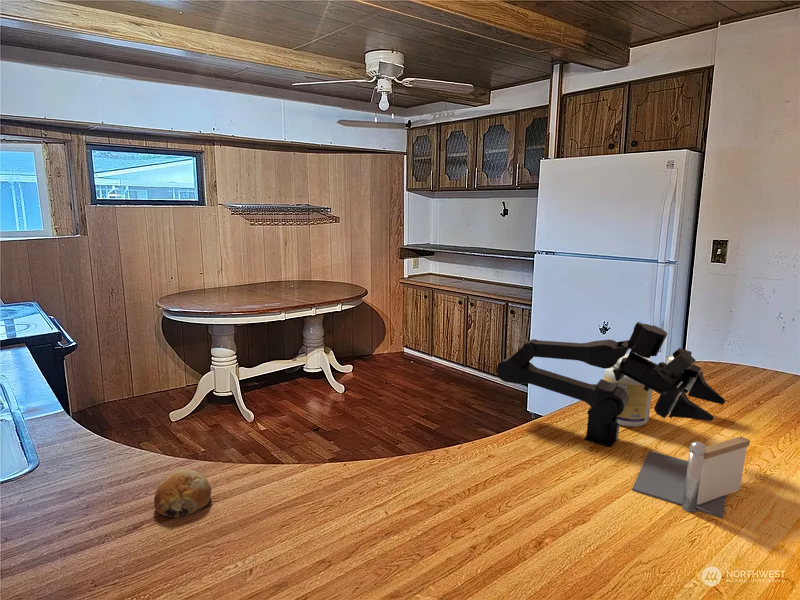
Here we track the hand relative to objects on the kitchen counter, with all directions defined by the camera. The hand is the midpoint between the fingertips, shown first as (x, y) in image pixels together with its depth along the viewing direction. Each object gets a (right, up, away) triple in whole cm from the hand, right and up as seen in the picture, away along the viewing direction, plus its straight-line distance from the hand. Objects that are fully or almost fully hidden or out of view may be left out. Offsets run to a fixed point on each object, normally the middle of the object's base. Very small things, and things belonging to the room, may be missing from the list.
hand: (718, 410), depth 111 cm
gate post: (-12, -17, -11) cm, 23 cm away
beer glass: (+9, -8, +37) cm, 39 cm away
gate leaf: (-5, -15, -7) cm, 18 cm away
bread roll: (-109, -15, -12) cm, 111 cm away
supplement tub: (-7, -9, +30) cm, 32 cm away
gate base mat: (-8, -15, -1) cm, 17 cm away
